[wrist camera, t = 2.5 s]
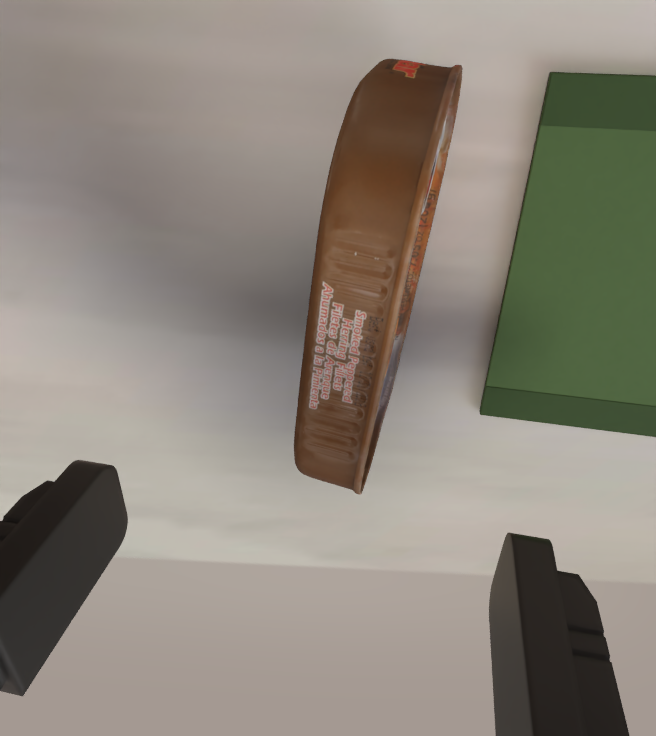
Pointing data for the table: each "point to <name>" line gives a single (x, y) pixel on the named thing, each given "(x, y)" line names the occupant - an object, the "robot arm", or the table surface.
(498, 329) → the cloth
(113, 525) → the robot arm
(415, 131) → the tin
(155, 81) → the table surface
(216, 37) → the table surface
